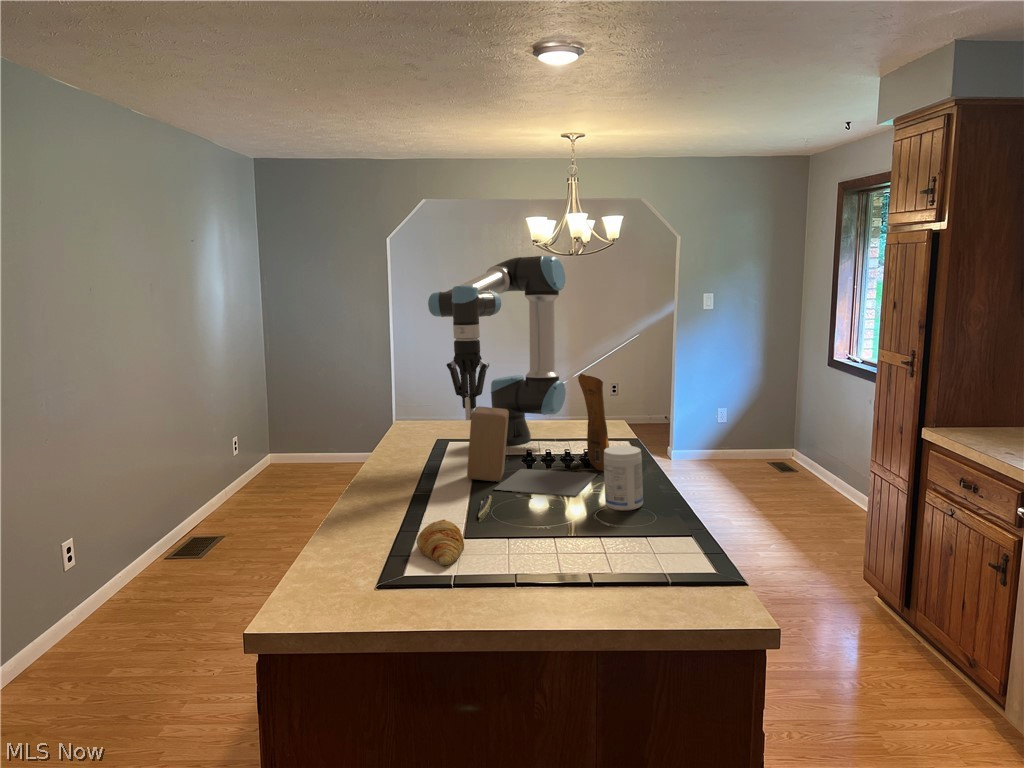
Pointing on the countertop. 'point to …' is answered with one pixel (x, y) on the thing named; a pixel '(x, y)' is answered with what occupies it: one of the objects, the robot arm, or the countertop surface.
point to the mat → (547, 482)
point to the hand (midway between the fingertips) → (469, 419)
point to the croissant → (441, 542)
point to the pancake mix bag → (595, 419)
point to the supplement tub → (623, 477)
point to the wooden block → (487, 443)
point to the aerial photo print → (487, 502)
